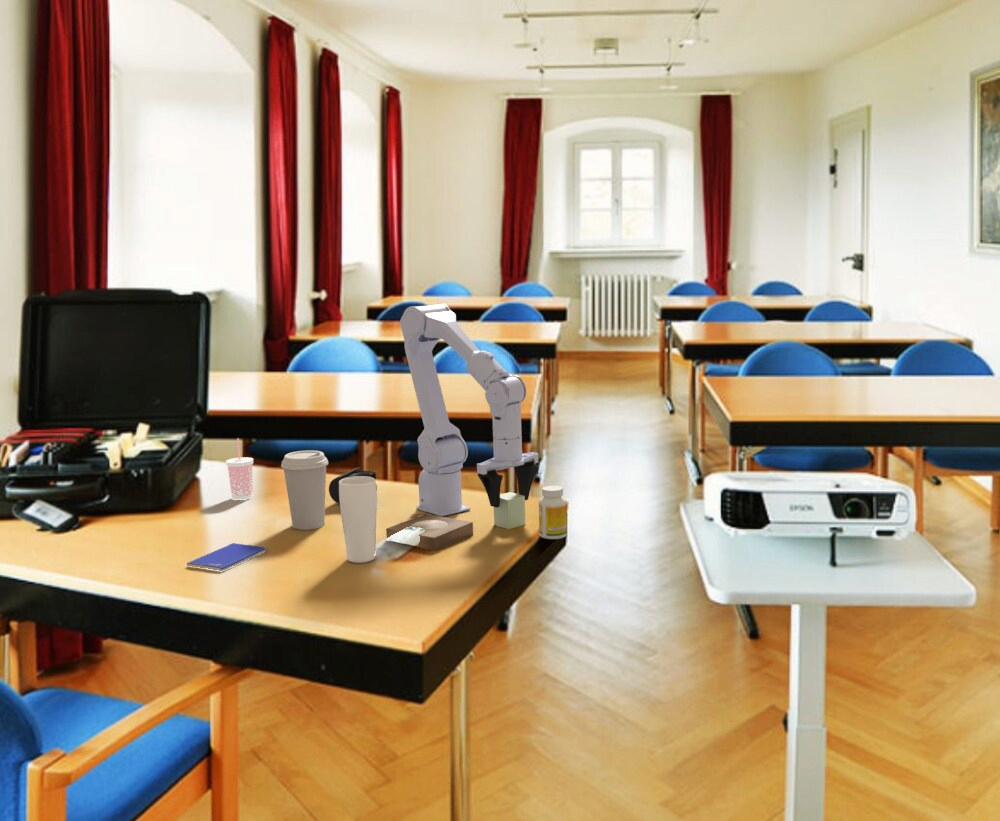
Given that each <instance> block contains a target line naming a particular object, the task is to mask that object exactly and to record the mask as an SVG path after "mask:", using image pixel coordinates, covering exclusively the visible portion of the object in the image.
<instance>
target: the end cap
mask: <svg viewBox="0 0 1000 821" xmlns="http://www.w3.org/2000/svg"><path fill="white" fill-rule="evenodd" d="M354 476H368V477H373V478H374V479H375V480H377V473H376V471H370V470H362V468H361V467H355V468H353V469H351V470H349V471H346V472H344V473H342V474H340V475H339V476H336V477H335V478H333V479H332V480H331V481H330V482H329V485H328V493H329V496H330V498H331V500H333V501H334V502H335V503H337V504H338V505H339V506H340V501H339V481H340V480H341V479H344V478H348V477H354ZM377 486H378V485H377V483H376V492H377V491H378V490H377V488H378V487H377Z"/></svg>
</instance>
